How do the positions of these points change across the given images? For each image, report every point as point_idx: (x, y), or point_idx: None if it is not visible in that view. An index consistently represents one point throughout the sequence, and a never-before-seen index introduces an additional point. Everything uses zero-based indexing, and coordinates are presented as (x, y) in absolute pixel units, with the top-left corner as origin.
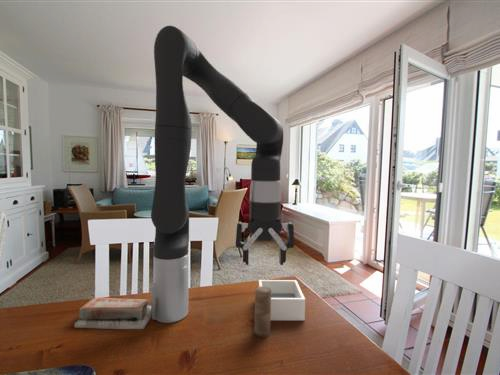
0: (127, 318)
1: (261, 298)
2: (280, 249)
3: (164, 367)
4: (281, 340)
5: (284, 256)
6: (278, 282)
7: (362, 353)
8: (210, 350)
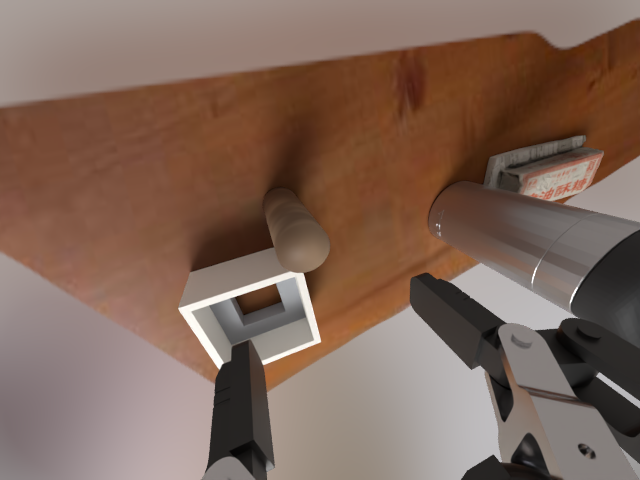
0: (522, 166)
1: (302, 218)
2: (261, 455)
3: (446, 51)
4: (231, 187)
5: (224, 403)
6: (271, 353)
7: None
8: (373, 119)
